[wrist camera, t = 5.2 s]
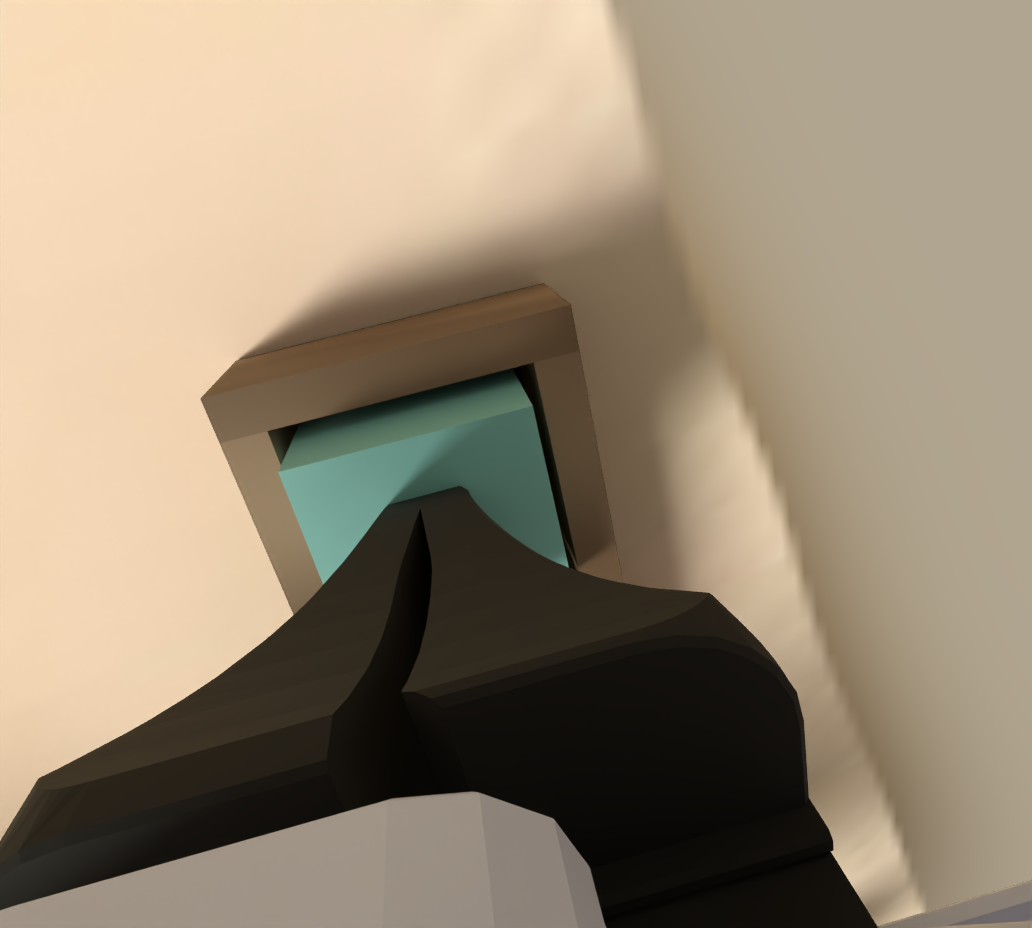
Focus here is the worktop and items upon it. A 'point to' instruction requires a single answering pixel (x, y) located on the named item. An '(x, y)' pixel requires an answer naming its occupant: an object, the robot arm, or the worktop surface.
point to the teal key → (422, 465)
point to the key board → (407, 370)
